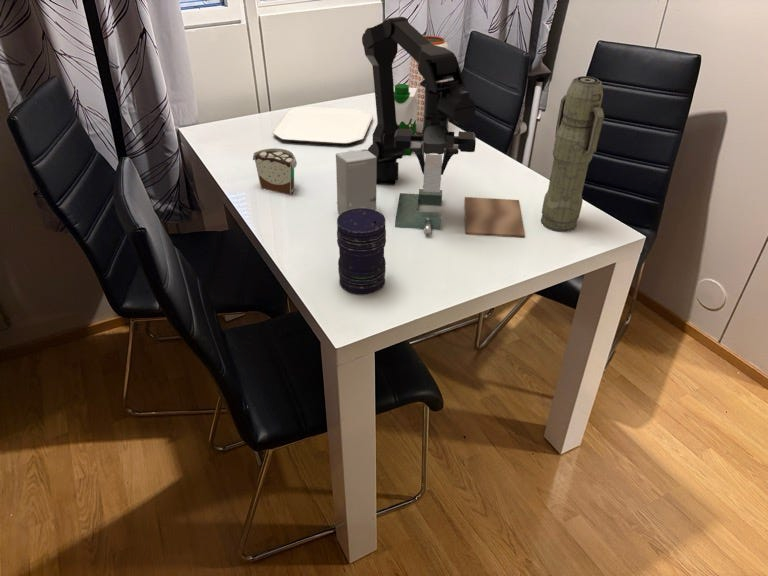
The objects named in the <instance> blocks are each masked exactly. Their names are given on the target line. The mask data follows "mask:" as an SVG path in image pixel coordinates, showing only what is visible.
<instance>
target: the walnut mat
mask: <svg viewBox="0 0 768 576" xmlns="http://www.w3.org/2000/svg"><path fill="white" fill-rule="evenodd" d="M520 204H521V203H520V200H519V199H510V198H508V199H506V198H489V197H487V198H486V197H471V196H470V197H469V196H464V229H465V232H464V233H465V235H470V236H471V235H472V236H487V237H488V236H491V237H507V238H521V239H522V238H525V237H526V234H525V227H524V221H523V217H522V216H523V215H522V210H521V205H520Z"/></svg>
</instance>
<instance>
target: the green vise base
mask: <svg viewBox="0 0 768 576" xmlns="http://www.w3.org/2000/svg"><path fill="white" fill-rule="evenodd" d="M397 201H398V202H397V208H396V213H395V220H394V227H395V228H404V229H405V228H408V229H409V228H410V229H420V230H421V229H423V230H424V231H423V233H424V235H427V236H429V235H431V233H432V230H439V231H441V225H442V212H435V211H434V212H433V211H432V212H431V211H419V209H418V208H419V205H420V206H432V207H433V206H436V207H437V206H438V207H442V205H443V204H442V201H443V189H440V192H424V191H423V188H418V193H409V192H408V193H403V192H399V195H398V200H397Z"/></svg>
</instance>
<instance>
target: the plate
mask: <svg viewBox="0 0 768 576" xmlns="http://www.w3.org/2000/svg"><path fill="white" fill-rule="evenodd" d="M373 117H374V116H373V114H372V113H369V112H367V111H365V110H363V109H353V108H339V107H338V108H335V107H322V106H321V107H320V106H318V107H317V106H302V107H297V108H293V109H289V110H288V112H287V113H286V115H285V116H284V117H283V118H282V120H280V122H279V123H278V125H277V126H276V128H275V129H274V131H273V132H272V135H274V136H276V137H277V138H278V139H279V140H281V141H287V142H291V141H295V143H306V142H310V144H322V143H326V145H337V144H342V145H341V146H345V145H349V144H353V143H356V142H359V141H363V140H364V138H365V136H366V134H367V131H368V130H369V127H370V124H371V123H372V120H373ZM344 144H345V145H344Z"/></svg>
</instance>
